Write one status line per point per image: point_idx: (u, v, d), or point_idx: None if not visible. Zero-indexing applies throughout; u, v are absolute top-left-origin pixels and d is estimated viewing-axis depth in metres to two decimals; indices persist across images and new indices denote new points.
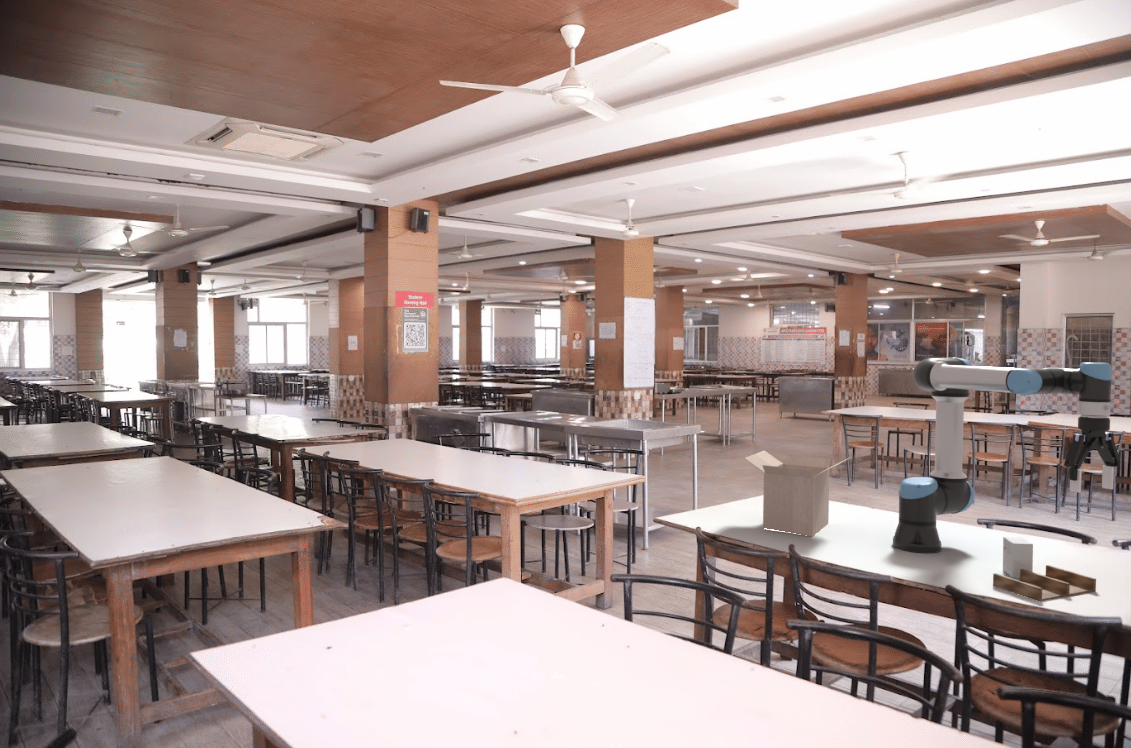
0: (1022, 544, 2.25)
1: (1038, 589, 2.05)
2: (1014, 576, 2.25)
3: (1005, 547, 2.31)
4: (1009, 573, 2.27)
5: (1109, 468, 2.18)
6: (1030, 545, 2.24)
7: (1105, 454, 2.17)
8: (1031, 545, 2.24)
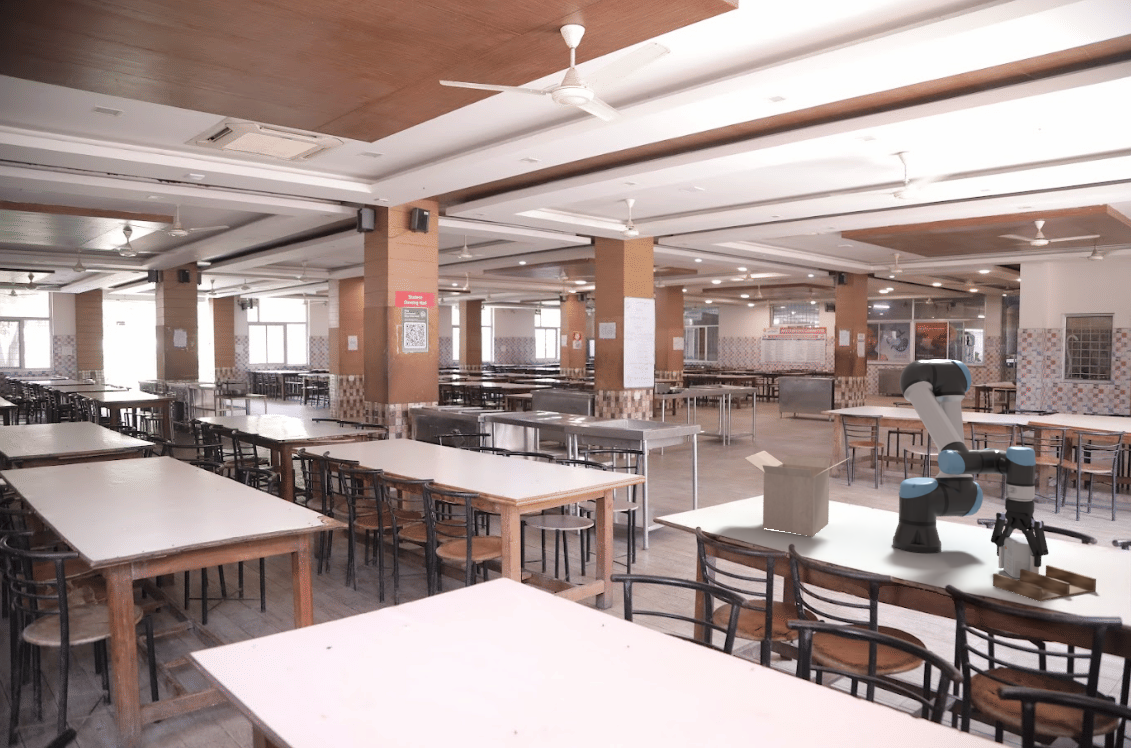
0: (1023, 544, 2.24)
1: (1038, 589, 2.05)
2: (1014, 576, 2.25)
3: (1006, 547, 2.31)
4: (1010, 573, 2.27)
5: None
6: None
7: None
8: None
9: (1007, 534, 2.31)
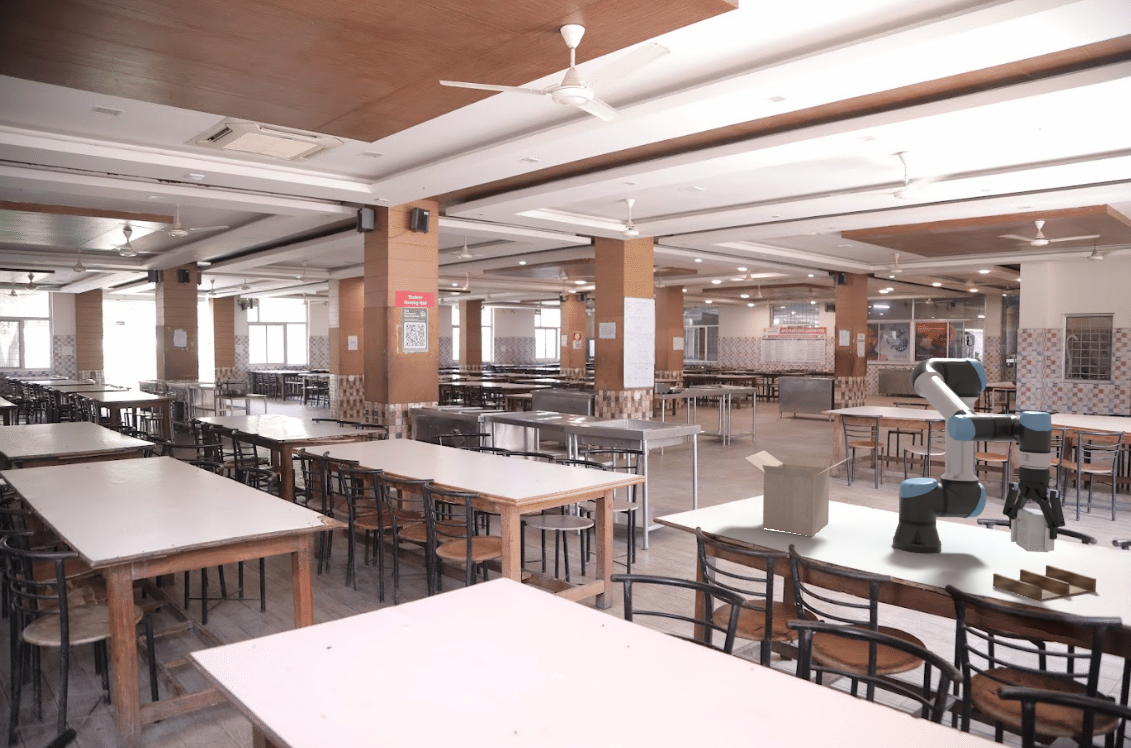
0: (1038, 515, 2.09)
1: (1038, 589, 2.05)
2: (1028, 550, 2.10)
3: (1019, 519, 2.15)
4: (1023, 547, 2.12)
5: None
6: None
7: None
8: None
9: (1020, 505, 2.15)
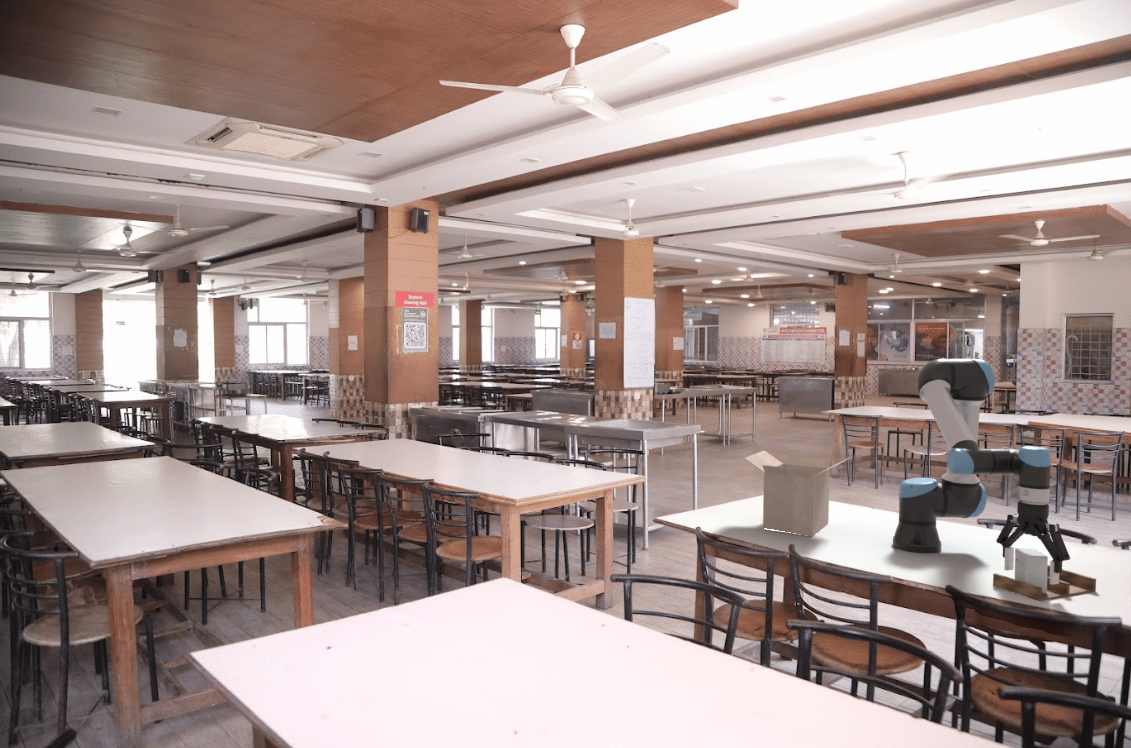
0: (1036, 556, 2.10)
1: (1038, 589, 2.05)
2: None
3: (1017, 559, 2.16)
4: None
5: None
6: (1045, 557, 2.09)
7: None
8: (1046, 557, 2.09)
9: (1016, 537, 2.17)
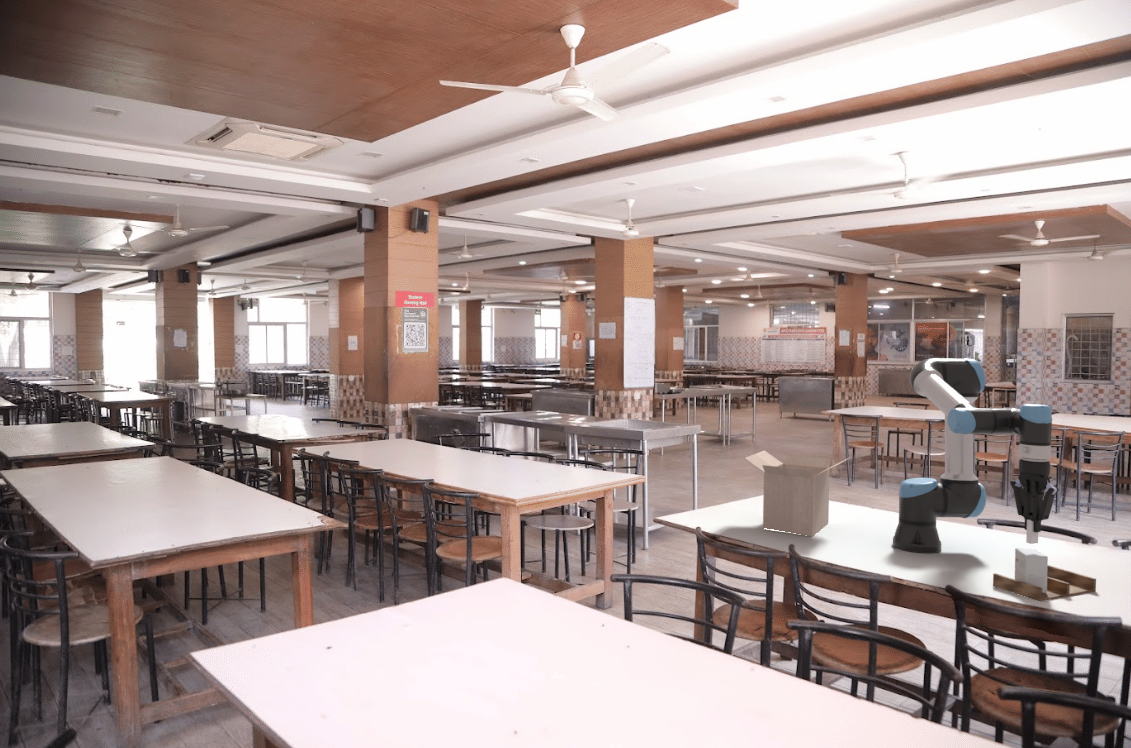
0: (1036, 556, 2.10)
1: (1038, 589, 2.05)
2: None
3: (1017, 559, 2.16)
4: None
5: None
6: (1045, 557, 2.09)
7: None
8: (1046, 557, 2.09)
9: (1029, 501, 2.13)
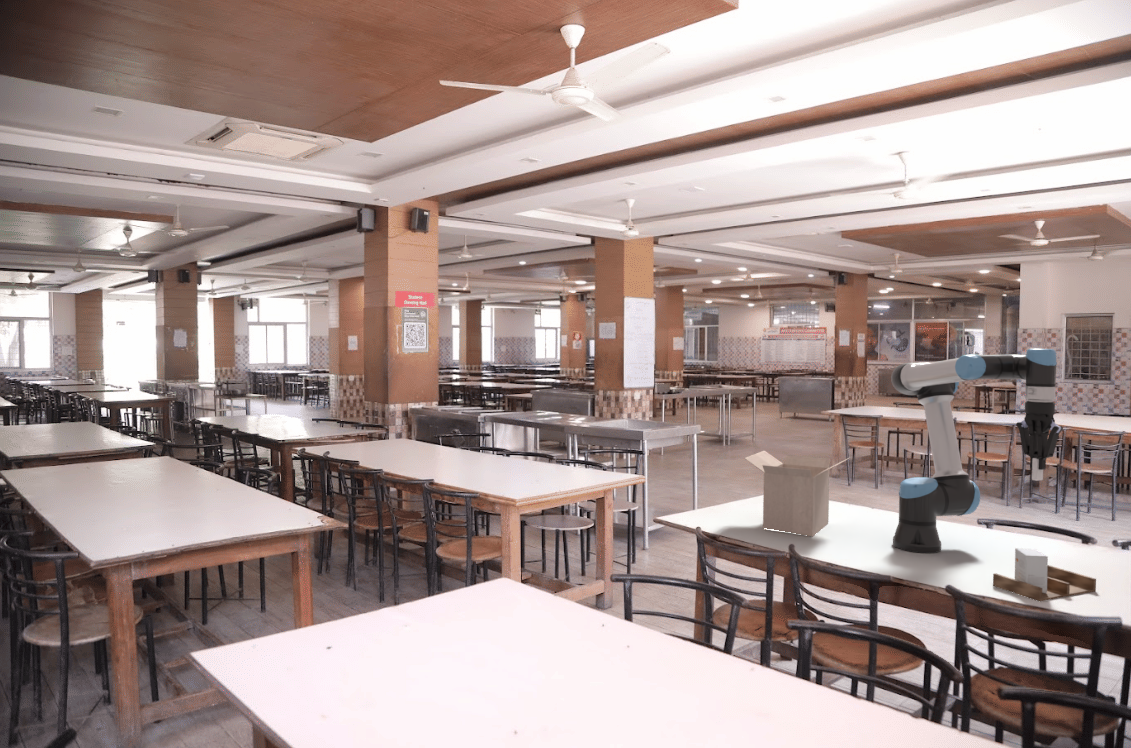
0: (1036, 556, 2.10)
1: (1038, 589, 2.05)
2: None
3: (1017, 559, 2.16)
4: None
5: None
6: (1045, 557, 2.09)
7: None
8: (1046, 557, 2.09)
9: (1035, 441, 2.24)
